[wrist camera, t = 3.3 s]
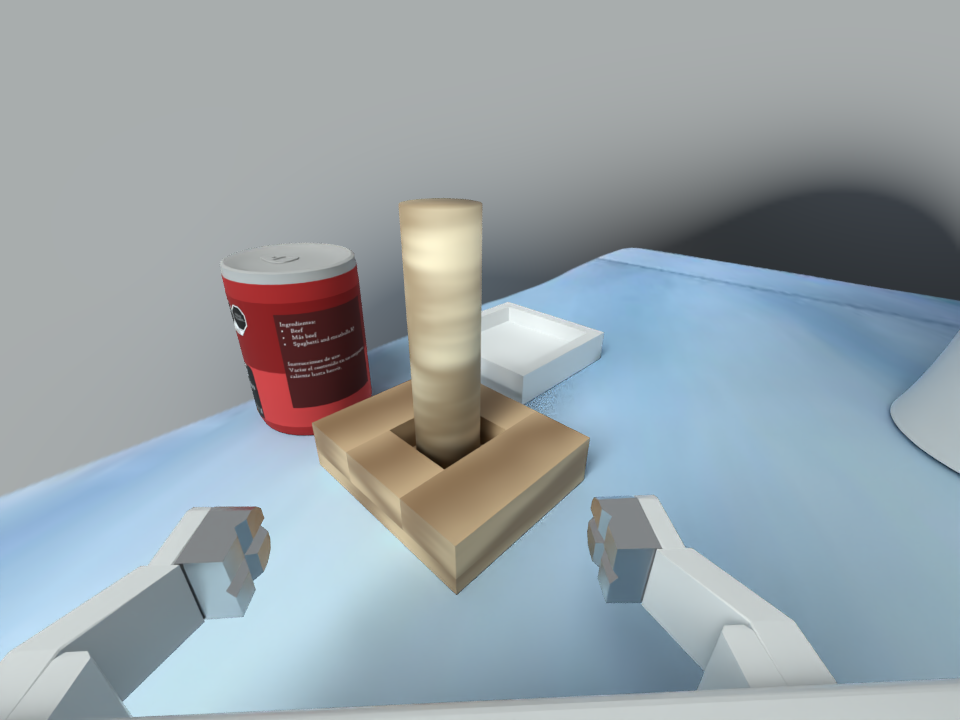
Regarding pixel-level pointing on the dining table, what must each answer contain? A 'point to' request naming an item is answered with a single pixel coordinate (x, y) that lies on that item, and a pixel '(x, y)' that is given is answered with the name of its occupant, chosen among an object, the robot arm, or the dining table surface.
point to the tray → (532, 350)
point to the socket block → (452, 477)
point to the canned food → (299, 330)
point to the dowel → (444, 323)
